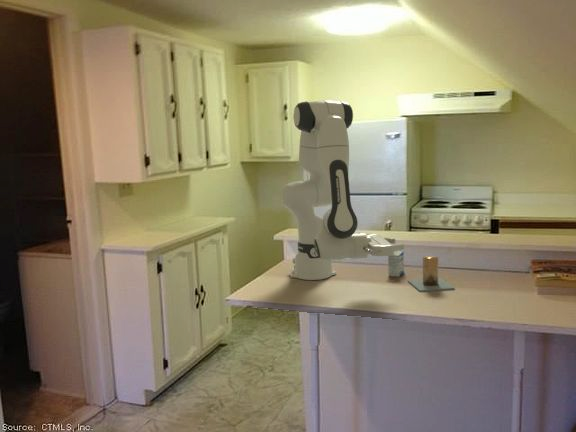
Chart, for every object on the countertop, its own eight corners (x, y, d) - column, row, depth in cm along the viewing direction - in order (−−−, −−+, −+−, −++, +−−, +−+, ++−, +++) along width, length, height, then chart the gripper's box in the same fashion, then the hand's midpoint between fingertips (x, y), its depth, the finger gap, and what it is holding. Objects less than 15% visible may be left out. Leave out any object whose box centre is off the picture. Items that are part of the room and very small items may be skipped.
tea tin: (420, 282, 196) (420, 256, 195) (434, 281, 197) (434, 255, 195) (426, 286, 191) (426, 259, 189) (440, 285, 191) (440, 258, 190)
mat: (407, 281, 200) (407, 280, 200) (440, 279, 201) (440, 277, 201) (419, 291, 187) (419, 290, 187) (454, 289, 188) (454, 287, 188)
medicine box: (399, 277, 206) (399, 255, 205) (388, 276, 208) (388, 254, 207) (403, 271, 213) (403, 251, 212) (393, 271, 215) (393, 250, 214)
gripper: (368, 243, 173) (408, 240, 174) (354, 231, 193) (390, 229, 194) (368, 261, 174) (408, 259, 175) (354, 248, 194) (390, 246, 195)
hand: (398, 243), depth 185 cm, fingers open, 8 cm apart
